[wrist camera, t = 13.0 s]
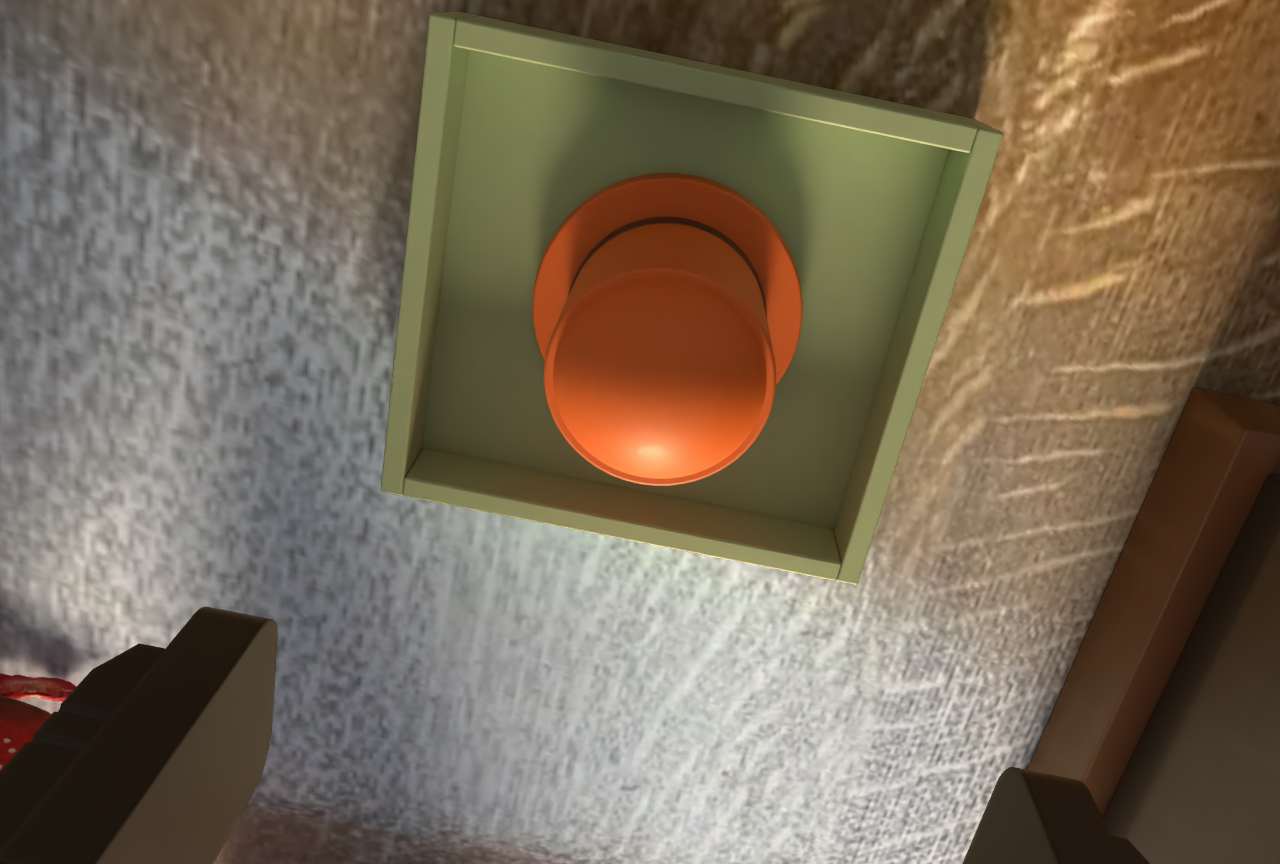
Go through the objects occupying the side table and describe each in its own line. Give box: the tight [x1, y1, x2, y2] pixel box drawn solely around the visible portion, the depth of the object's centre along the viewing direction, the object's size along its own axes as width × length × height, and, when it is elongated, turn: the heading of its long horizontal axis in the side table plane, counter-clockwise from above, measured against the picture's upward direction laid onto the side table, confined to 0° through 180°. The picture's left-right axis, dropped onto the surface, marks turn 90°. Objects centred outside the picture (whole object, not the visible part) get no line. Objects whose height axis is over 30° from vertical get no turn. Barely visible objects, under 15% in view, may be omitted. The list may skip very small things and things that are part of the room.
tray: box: [381, 11, 1003, 585], centre depth 27 cm, size 13×12×3 cm
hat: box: [532, 173, 803, 486], centre depth 24 cm, size 7×7×7 cm
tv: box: [1027, 388, 1280, 864], centre depth 26 cm, size 6×18×13 cm, turn 169°
